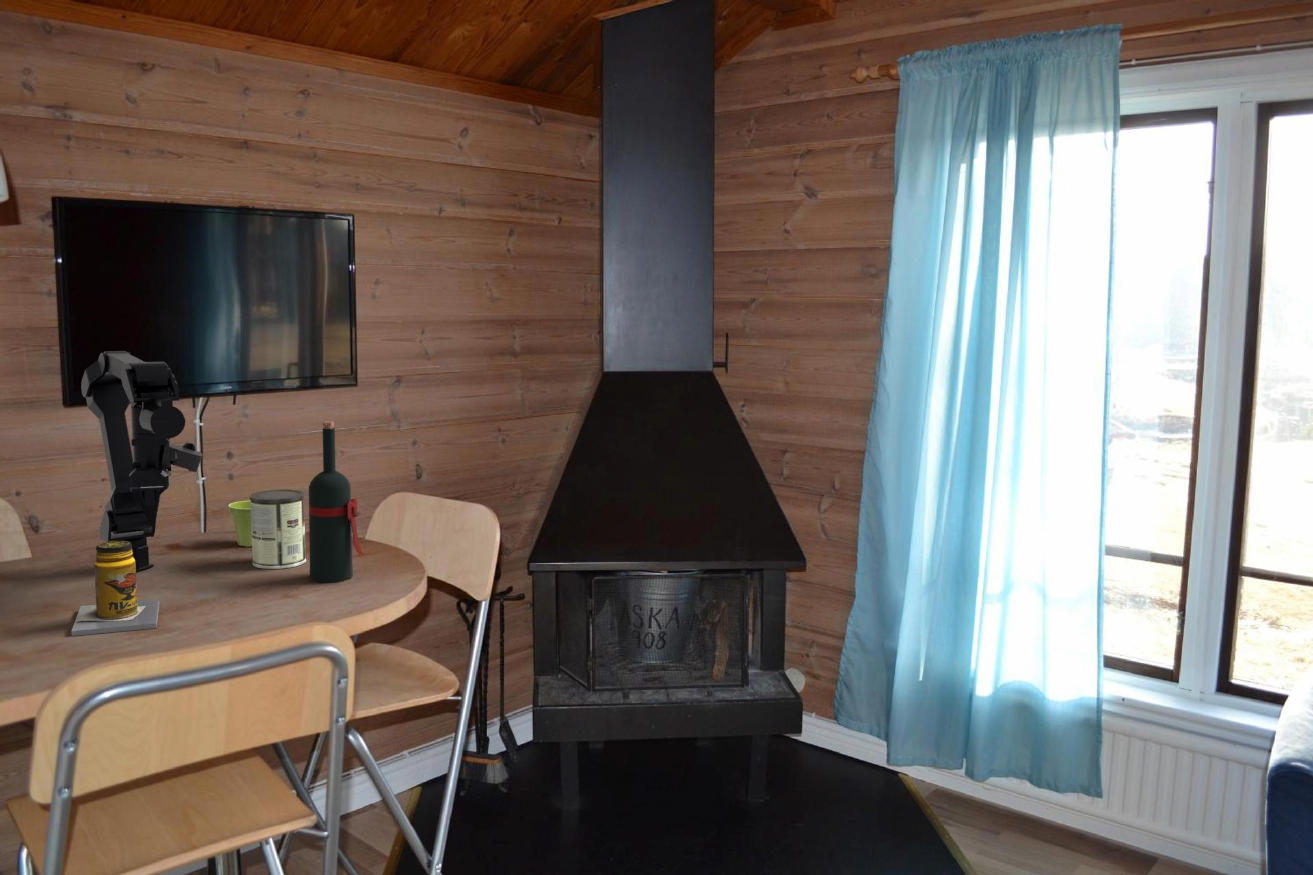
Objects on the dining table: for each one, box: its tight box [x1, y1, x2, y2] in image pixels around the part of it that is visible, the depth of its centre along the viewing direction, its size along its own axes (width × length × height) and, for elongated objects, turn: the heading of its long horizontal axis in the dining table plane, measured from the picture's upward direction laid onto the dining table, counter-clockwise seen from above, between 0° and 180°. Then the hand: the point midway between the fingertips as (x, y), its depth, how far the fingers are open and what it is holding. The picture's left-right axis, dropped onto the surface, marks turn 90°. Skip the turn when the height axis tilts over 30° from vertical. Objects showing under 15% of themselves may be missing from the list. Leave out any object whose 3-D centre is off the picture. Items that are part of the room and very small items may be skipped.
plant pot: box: [227, 500, 252, 548], centre depth 225 cm, size 9×9×9 cm
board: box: [71, 599, 160, 637], centre depth 174 cm, size 14×12×1 cm
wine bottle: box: [308, 420, 365, 584], centre depth 199 cm, size 8×10×30 cm
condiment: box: [77, 541, 146, 621], centre depth 173 cm, size 7×8×12 cm
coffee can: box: [249, 488, 307, 570], centre depth 210 cm, size 10×10×14 cm
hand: (153, 517), depth 190 cm, fingers open, 9 cm apart
